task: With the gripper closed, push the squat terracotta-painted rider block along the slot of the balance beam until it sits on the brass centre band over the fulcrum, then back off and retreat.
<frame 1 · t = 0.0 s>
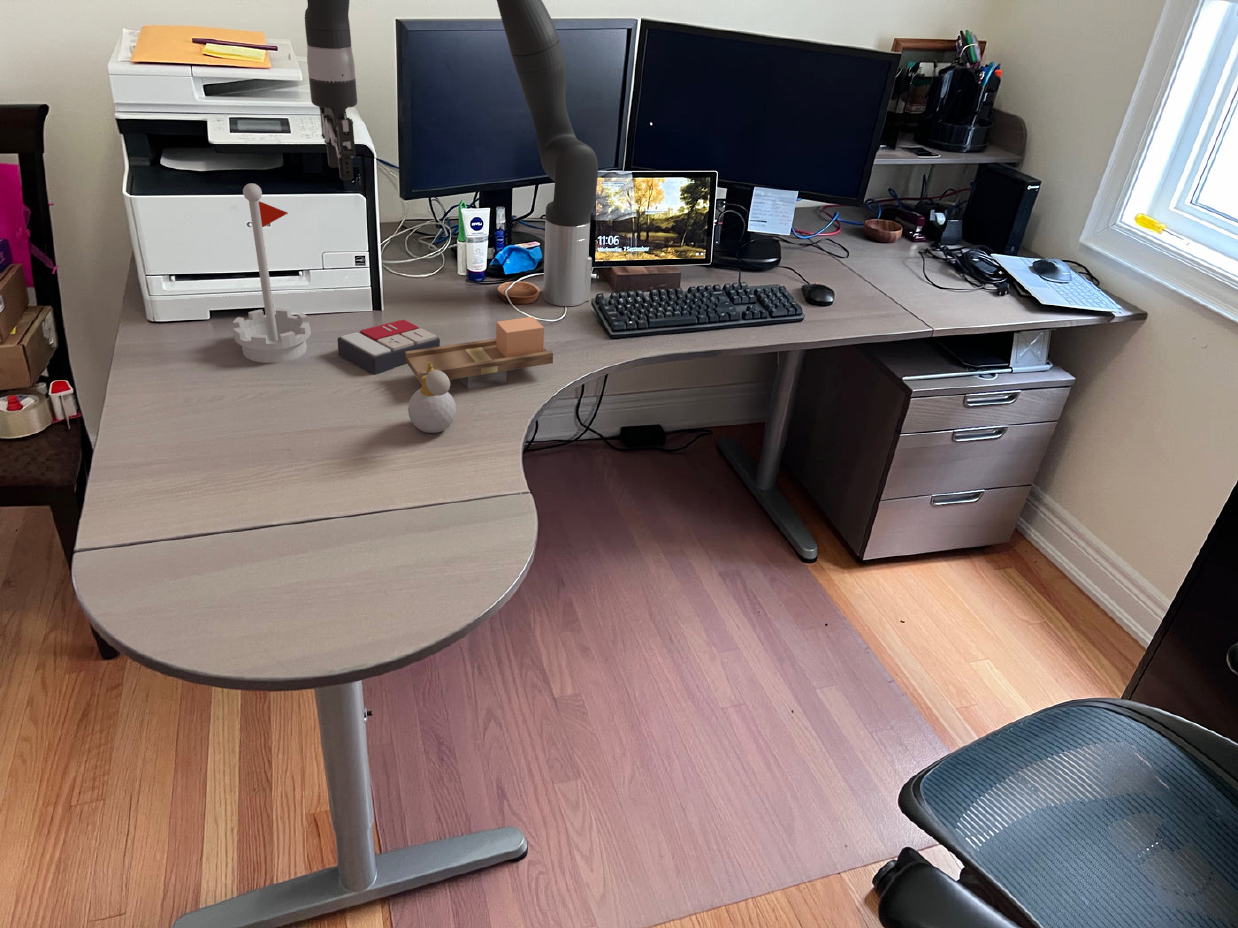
hand: (341, 173, 160), 29 cm above the table, fingers open, 8 cm apart
beam: (480, 377, 161), on the table
perfume bottle: (437, 432, 144), on the table
rider: (519, 350, 162), point 4 cm above the table, touching beam
calculator: (390, 356, 167), on the table
flag stand: (275, 350, 165), on the table
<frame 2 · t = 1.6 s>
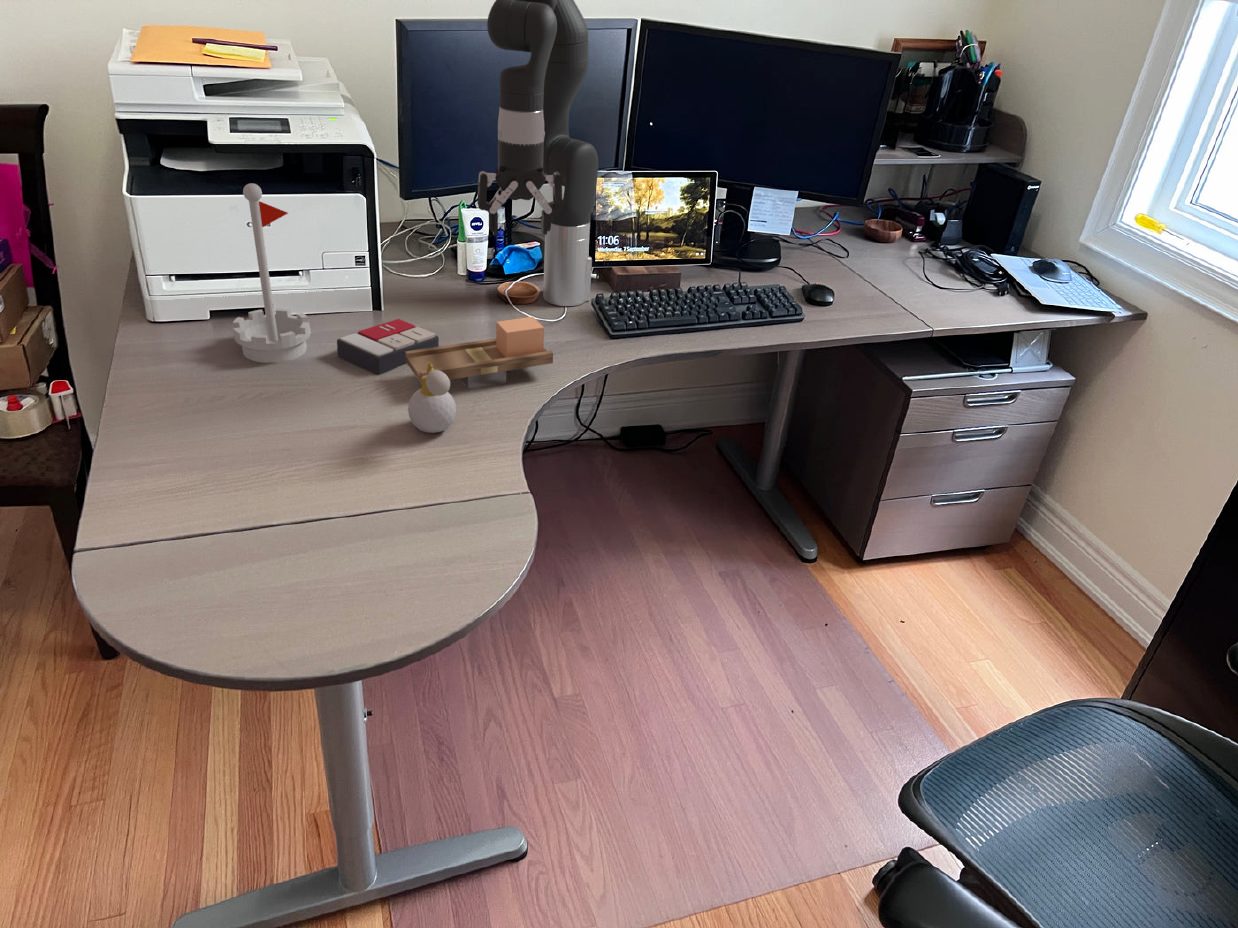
hand: (519, 233, 157), 24 cm above the table, fingers open, 8 cm apart
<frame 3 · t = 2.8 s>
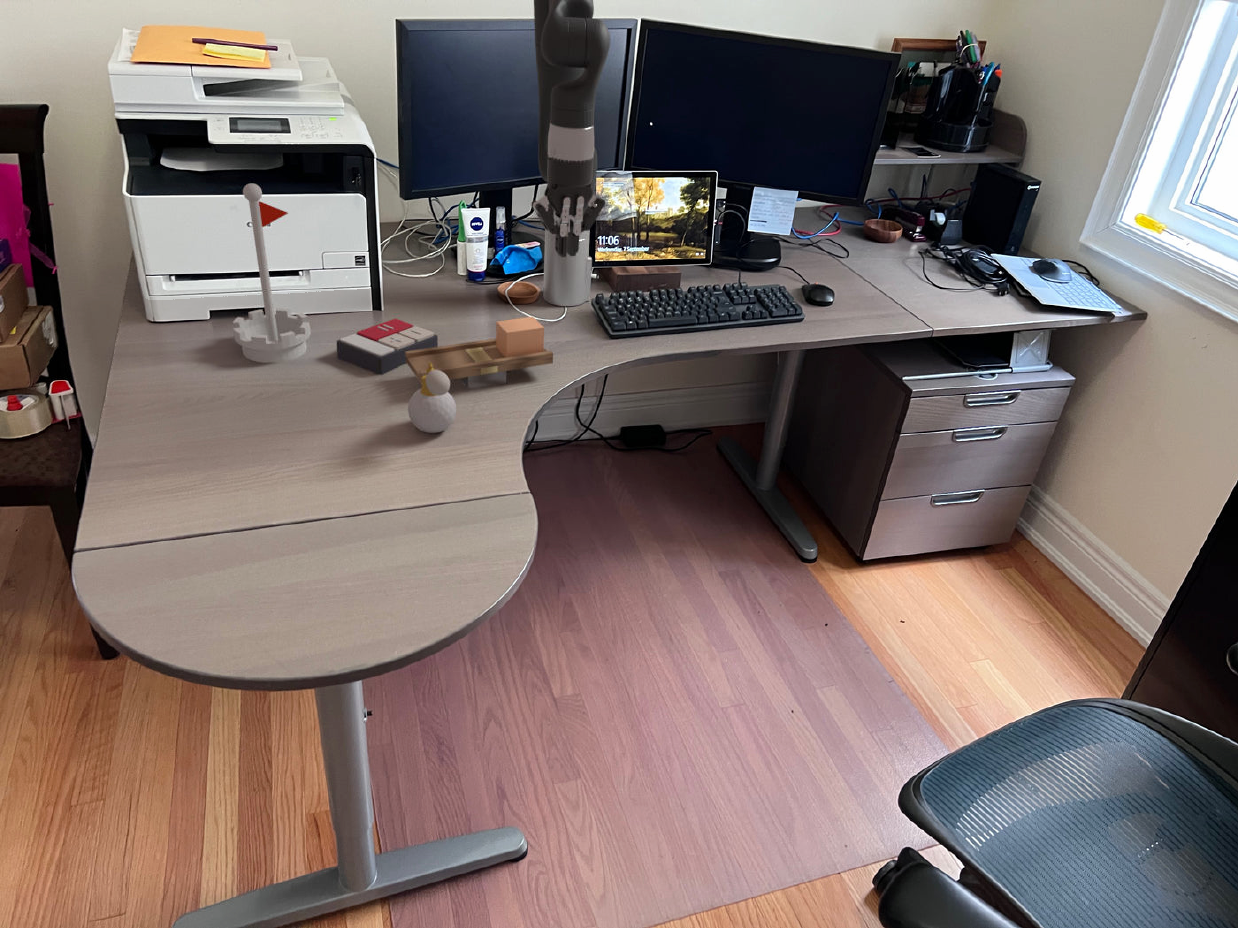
hand: (566, 255, 157), 21 cm above the table, fingers closed
nothing on the table moved.
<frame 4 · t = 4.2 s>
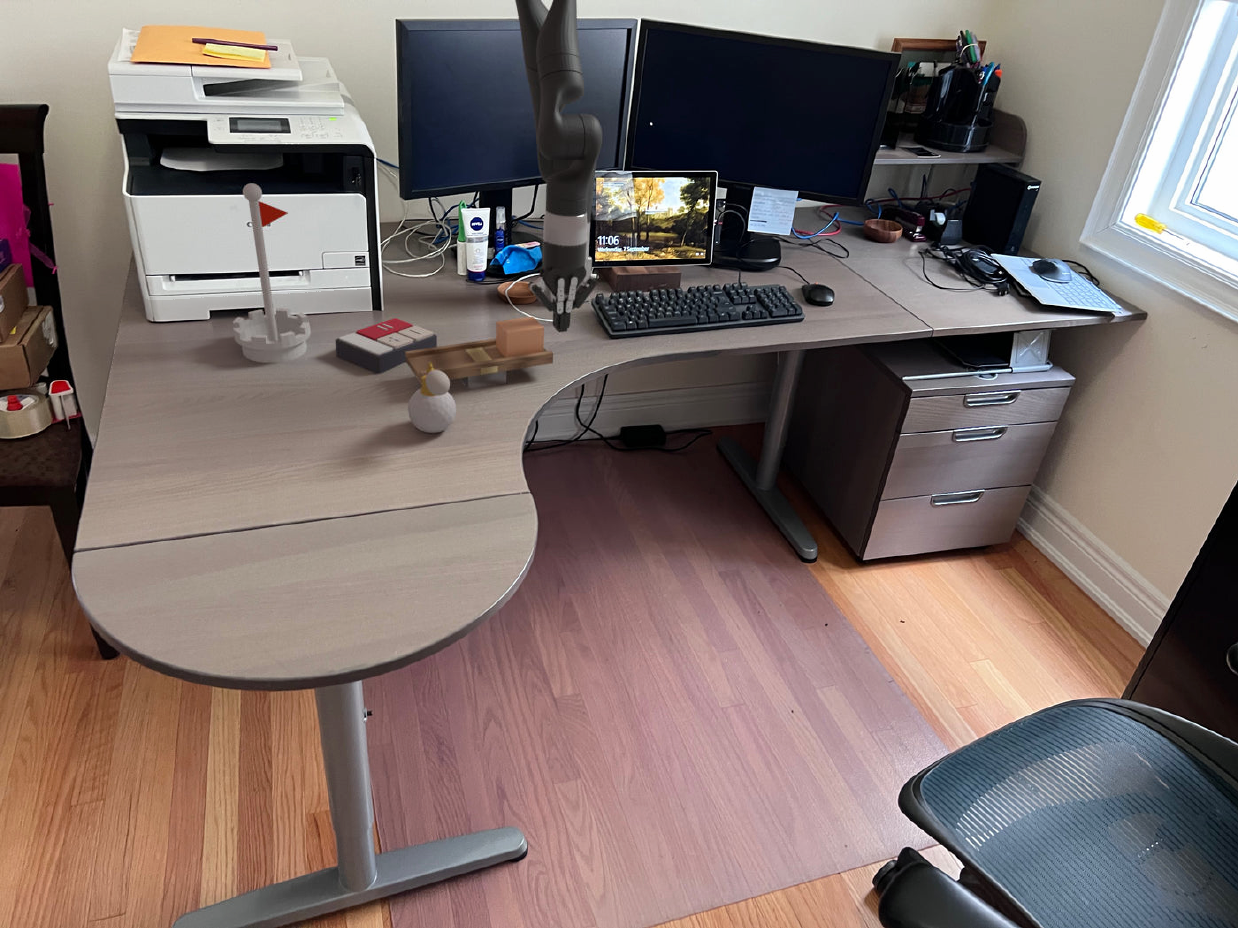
hand: (560, 330, 164), 7 cm above the table, fingers closed
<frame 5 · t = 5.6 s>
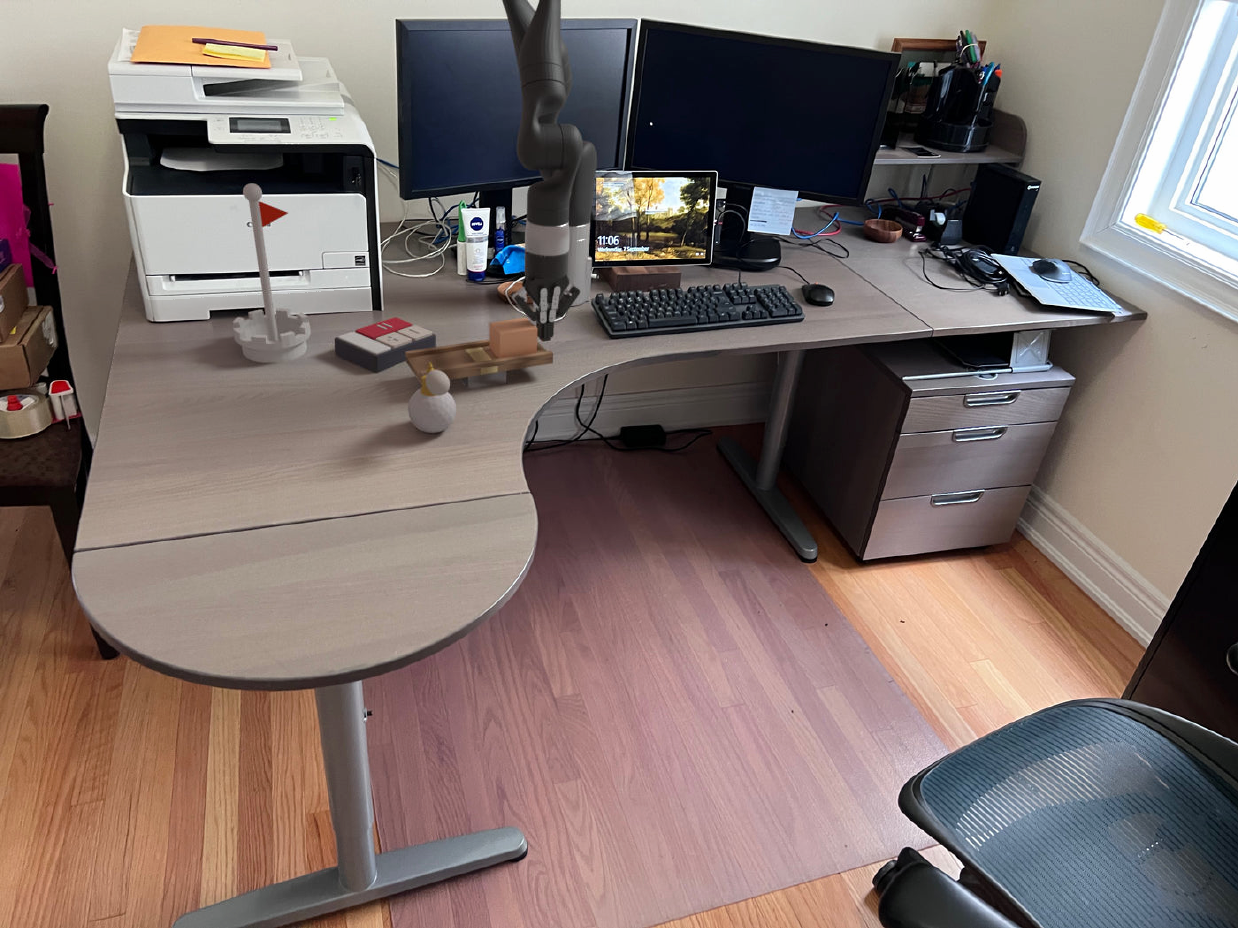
hand: (544, 339, 163), 6 cm above the table, fingers closed
rider: (512, 351, 161), point 4 cm above the table, touching gripper
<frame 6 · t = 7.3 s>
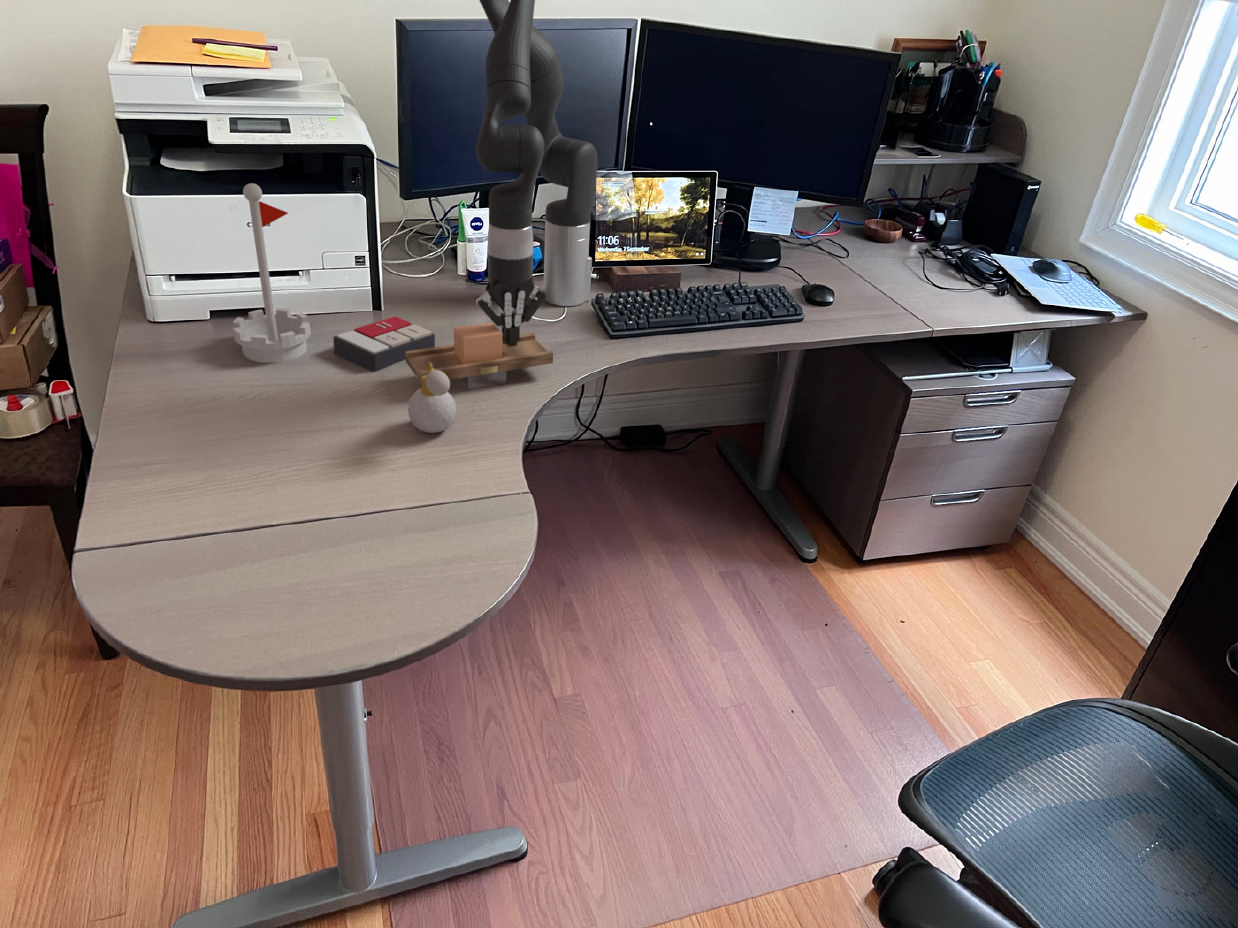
hand: (510, 344, 160), 6 cm above the table, fingers closed
rider: (478, 356, 158), point 4 cm above the table, touching beam, gripper
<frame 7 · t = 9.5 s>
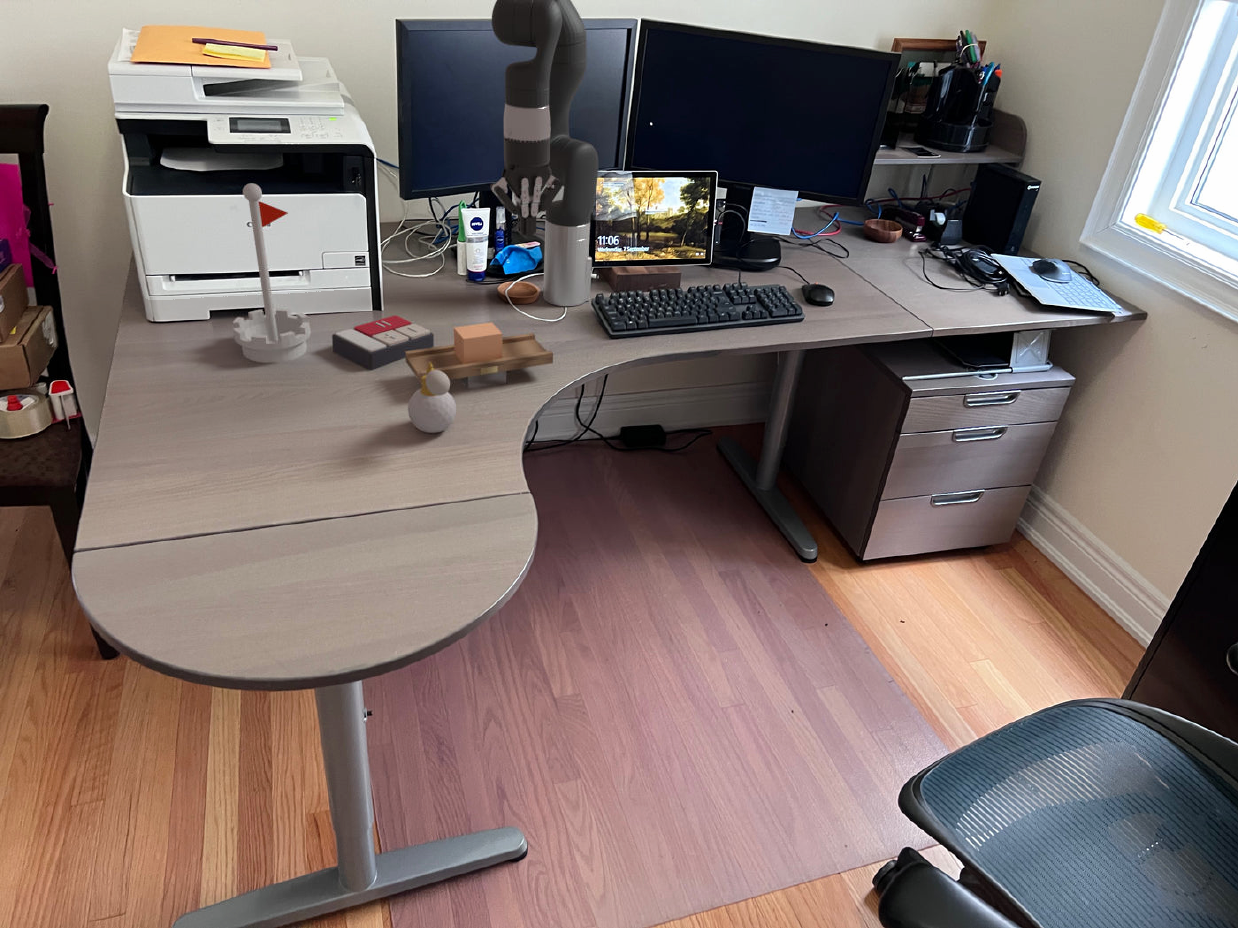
hand: (526, 236, 156), 23 cm above the table, fingers closed
rider: (478, 356, 158), point 4 cm above the table, touching beam
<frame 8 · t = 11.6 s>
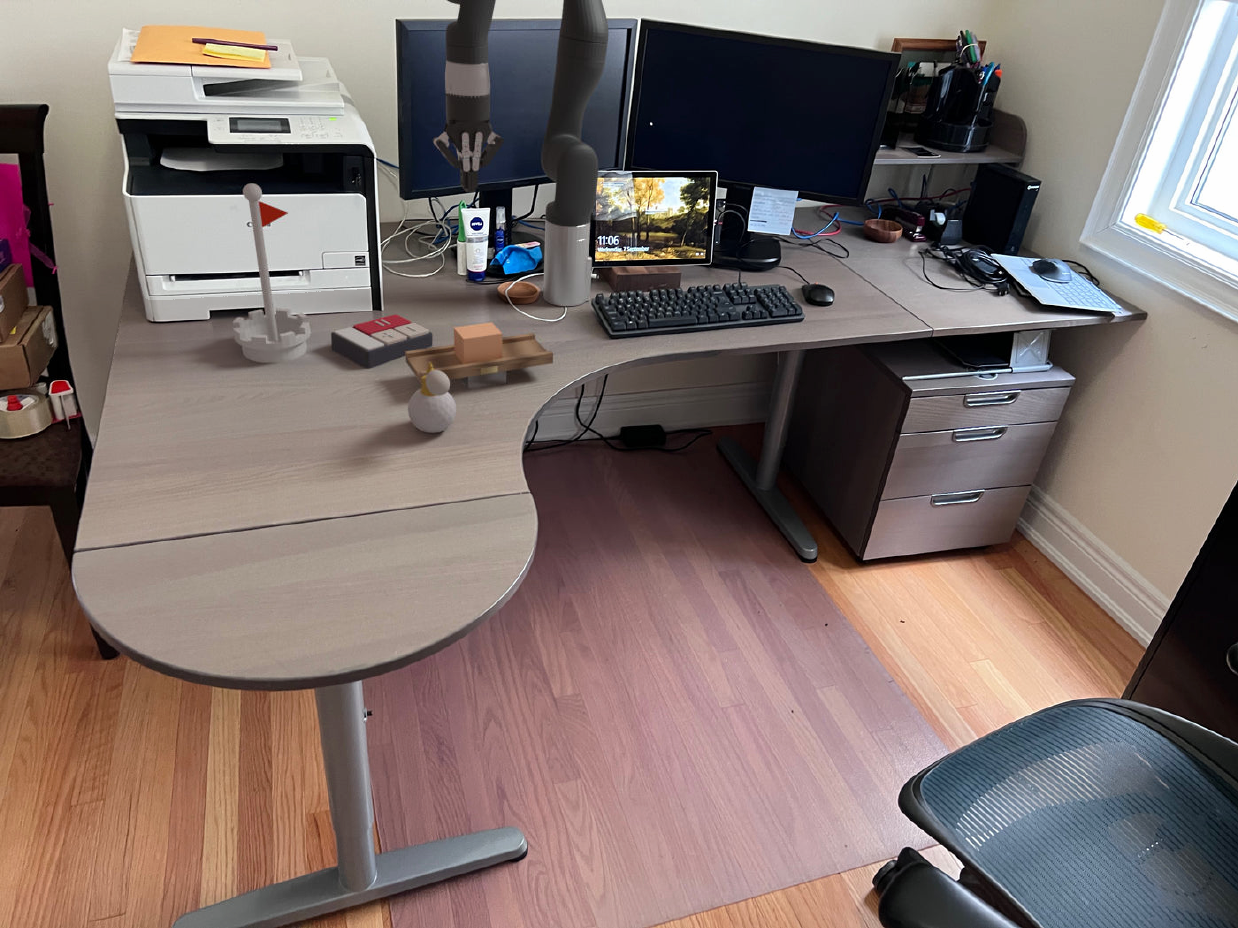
hand: (469, 190, 164), 27 cm above the table, fingers closed
at the end: rider 0.3 cm off-centre on the beam, point 4.2 cm above the beam's base; rider tilted 0° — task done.
